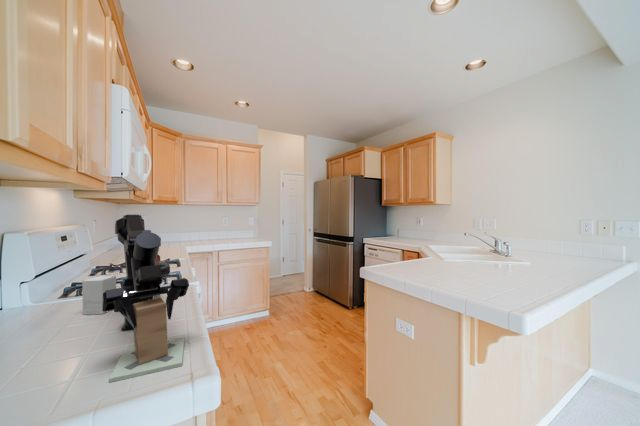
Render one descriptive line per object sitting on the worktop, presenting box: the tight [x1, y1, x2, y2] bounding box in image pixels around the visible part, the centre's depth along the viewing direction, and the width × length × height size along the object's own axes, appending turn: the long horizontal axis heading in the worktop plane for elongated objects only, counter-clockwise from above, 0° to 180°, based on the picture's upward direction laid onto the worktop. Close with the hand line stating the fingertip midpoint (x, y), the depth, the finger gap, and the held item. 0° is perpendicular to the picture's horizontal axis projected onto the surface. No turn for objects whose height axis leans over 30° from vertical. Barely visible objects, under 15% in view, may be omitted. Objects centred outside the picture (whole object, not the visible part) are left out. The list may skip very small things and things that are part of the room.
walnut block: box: [133, 297, 168, 365], centre depth 65 cm, size 6×6×13 cm
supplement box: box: [81, 275, 117, 316], centre depth 99 cm, size 7×7×13 cm
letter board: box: [108, 337, 185, 383], centre depth 65 cm, size 14×14×1 cm
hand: (153, 322), depth 64 cm, fingers open, 7 cm apart
